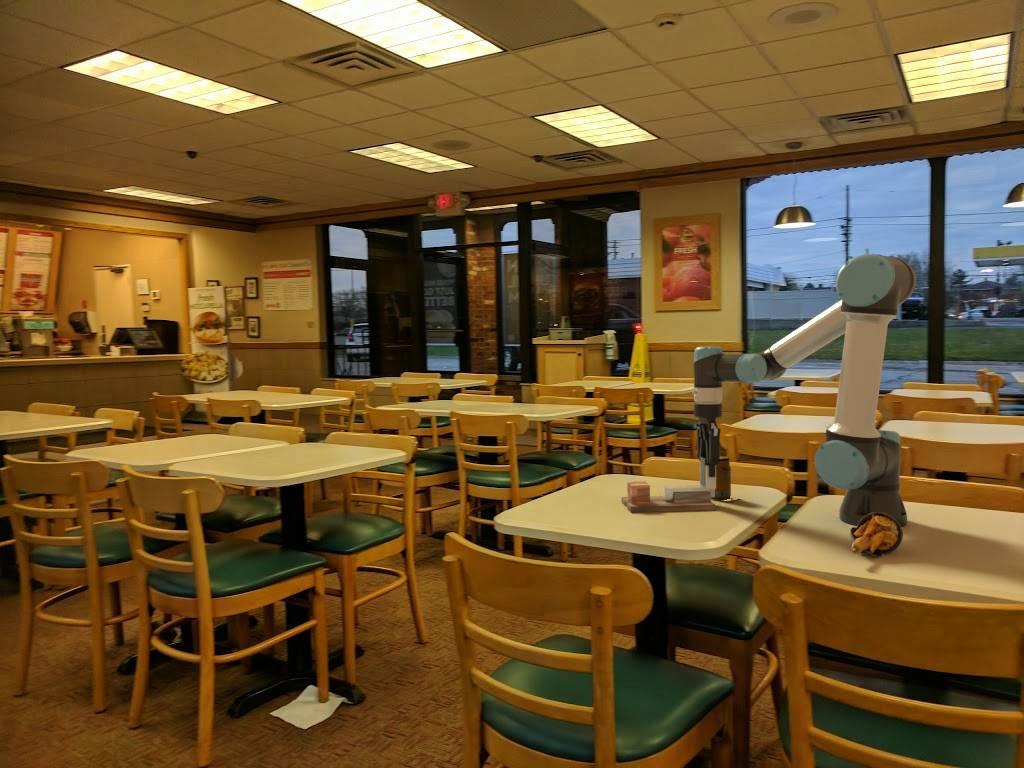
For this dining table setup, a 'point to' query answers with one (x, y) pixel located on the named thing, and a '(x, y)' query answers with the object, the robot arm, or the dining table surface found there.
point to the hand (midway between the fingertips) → (707, 486)
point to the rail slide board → (664, 500)
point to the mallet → (670, 490)
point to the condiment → (723, 480)
